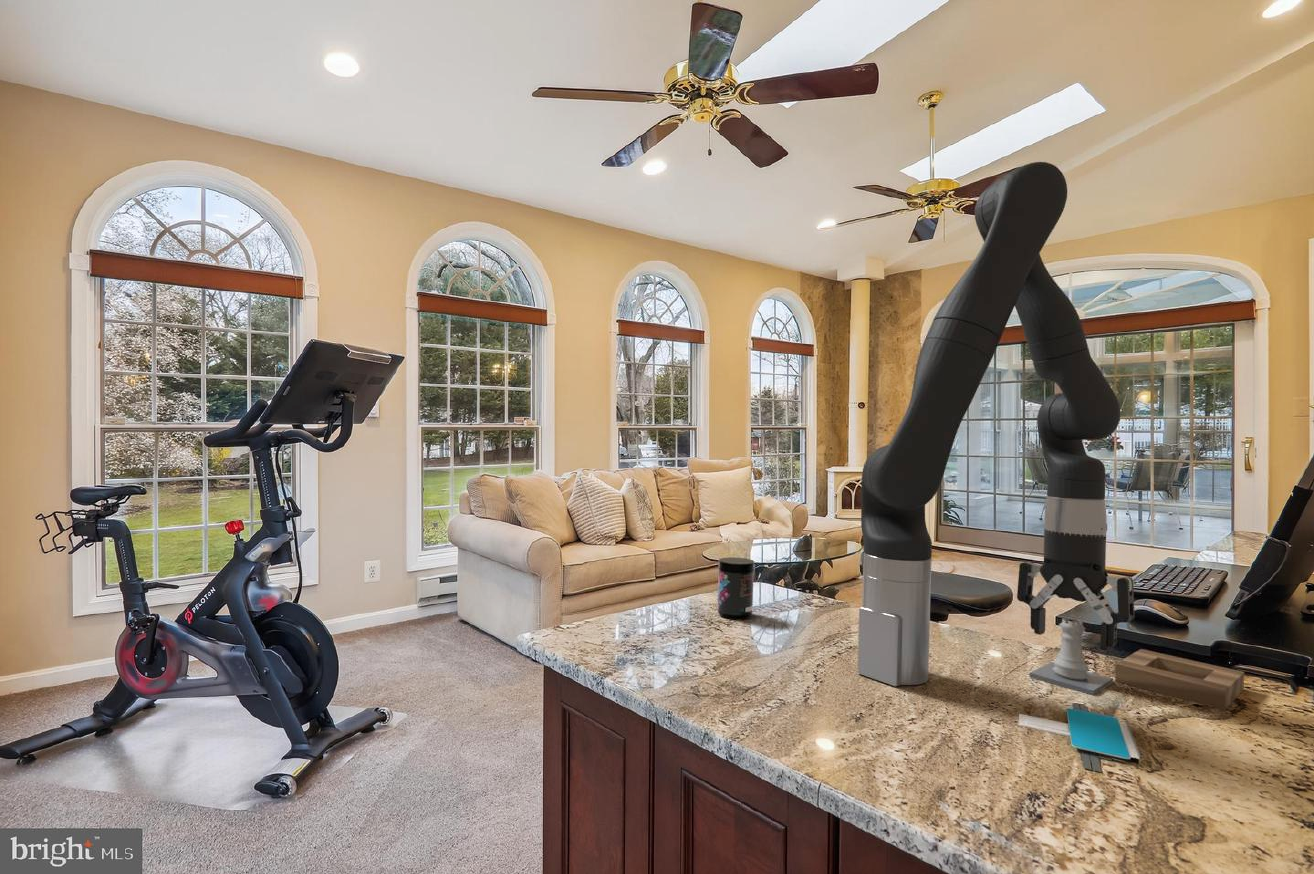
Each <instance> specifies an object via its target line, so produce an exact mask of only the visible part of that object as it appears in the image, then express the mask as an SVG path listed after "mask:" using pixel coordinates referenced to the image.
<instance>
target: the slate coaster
mask: <svg viewBox="0 0 1314 874" xmlns="http://www.w3.org/2000/svg"><path fill="white" fill-rule="evenodd" d="M1054 667H1055V665H1054V663H1053V662H1051V661H1050V662H1048V663H1046V664H1045V665H1042V666H1041V667H1039V668H1036V669H1034V670H1032V671H1030V672H1029V673H1028V674H1029V678H1032V679H1036V680H1038V681H1042V682H1046V683H1050V684H1053V685H1056V686H1060V687H1064V688H1067V689H1070V690H1075V691H1077V692H1081V693H1085V694H1088V695H1091V696H1094V695H1096V694H1097V693H1099V692H1101V691H1102V690H1104V689H1105V688H1106V687H1108V686H1110V685H1112V684H1113V683H1114V678H1112V677H1109V676H1106V675H1103V674H1102V675H1101V674H1098V673H1095V672H1094V673H1093V672H1089V671H1087V673H1088V674H1089V677H1088V678H1087V679H1086V680H1072V679H1067V678H1064V677H1061V676H1059V675H1057V674H1056V673H1055V672H1054V670H1053V668H1054Z"/></svg>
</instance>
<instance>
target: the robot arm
mask: <svg viewBox="0 0 1314 874" xmlns="http://www.w3.org/2000/svg"><path fill="white" fill-rule="evenodd" d="M1067 199H1068V185H1067V180H1066V178H1065V176H1064V173H1063V172H1062V171H1061V170H1060V169H1059V168H1058V167H1057V165H1054V164H1053V163H1050V162H1047V161H1046V162H1045V161H1035V162H1031V163H1027V164H1024V165H1021V166H1019V167H1018V168H1016V169H1013V170H1011V171H1010V172H1008V173H1007V174H1005V175H1003V176H1002V177H1001V178H1000V179H997V180H996V181H995V182H994V183H992V184H991V185H989V186H988V187H987V188H985V189H984V190H983V192H982V193H981V194H980V196H979V197H978V198H977V200H976V204H975V207H974V220H975V223H976V226H977V229H978V231H979V234H980V236H981V238H982V241H983V244H982V246H981V248H980V250H979V252H978V254H977V255H976V257H975V258H974V260H973V261H972V262H971V264H970V266H969V267H968V268H967V270H966V271H965V272H964V273H963V275H962V276H961V277H960V279H959V280H958V281H957V283H955V285H954V286H953V288H951V291H949V293H948V294H947V296H946V297H945V299H944V301H943V302H942V303H941V305H940V307H939V309H938V310H937V312H936V314H935V316H934V318H933V320H932V322H931V325H930V327H929V329H928V331H927V334H926V336H925V338H924V341H923V342H922V346H921V349H920V352H919V355H918V357H917V361H916V362H917V363H916V367H915V374H914V377H913V378H914V380H913V385H912V390H911V397H910V400H909V404H908V406H907V409H906V411H905V413H904V416H903V418H902V420H901V422H900V423H899V426H898V428H897V429H896V431H895V433H894V435H893V437H892V438H891V440H890V442H889V444H888V445H883V446H881V447H879V448H877V449H875V450H874V451H873V452H871V454H870V455H869V456H868V457H867V459H866V460H865V462H864V464H863V468H862V473H861V482H860V483H861V487H860V489H861V492H860V493H861V495H860V496H861V497H860V500H861V501H860V504H861V505H860V508H861V509H860V510H861V511H860V512H861V513H860V514H861V515H860V516H861V517H860V520H861V521H860V523H861V524H860V526H861V527H860V528H861V533H862V539H863V565H862V566H863V569H862V596H861V597H862V600H861V601H862V602H861V607H860V608H858V609H859V610H858V635H857V636H858V638H857V639H858V642H857V643H858V644H857V645H858V646H857V671H856V673H857V674H858V675H863V677H867V678H870V679H873V680H876V681H879V682H882V683H885V684H888V685H890V686H893V687H898V686H915V685H916V686H917V685H922V684H925V683H926V682H928V681H929V673H930V672H929V669H930V668H929V667H930V666H929V665H930V662H929V661H930V631H931V630H930V629H931V628H930V625H931V624H930V620H931V593H932V592H931V589H932V588H931V587H932V586H931V585H932V580H931V579H932V555H933V548H932V546H933V542H932V538H931V536H930V534H929V532H928V528H927V523H926V505H927V504H928V503H929V502H930V501H931V500H932V499H933V498H934V497H935V495H936V494H937V492H938V491H939V489H940V486H941V483H942V480H943V479H944V474H945V471H946V467H947V464H948V461H949V458H950V455H951V452H952V448H953V446H954V442H955V439H956V438H957V437H956V436H957V434H958V432H959V429H960V426H961V424H962V422H963V419H964V417H965V415H966V413H967V411H968V410H969V407H970V405H971V403H972V402H973V399H974V397H975V395H976V394H977V391H978V388H979V386H980V384H981V381H982V380H983V377H984V376H985V374H986V371H987V370H988V368H989V365H990V363H991V362H992V359H993V358H994V354H995V353H996V351H997V349H998V346H999V344H1000V341H1001V339H1002V337H1003V334H1004V331H1005V330H1006V326H1007V324H1008V322H1009V319H1010V317H1011V315H1012V313H1013V310H1014V309H1015V310H1016V313H1017V315H1018V318H1019V320H1020V321H1019V322H1020V325H1021V326H1022V327H1021V328H1022V331H1023V334H1024V338H1025V341H1026V344H1027V348H1028V351H1029V354H1030V358H1031V362H1032V365H1033V368H1034V370H1035V373H1036V375H1037V376H1038V377H1039V378H1040V379H1041V380H1045V381H1047V382H1048V381H1050V382H1052V383H1055V384H1056V385H1057V386H1058V387H1059V389H1060V391H1061V392H1058V393H1055V394H1051V395H1050V396H1048V397H1047V398H1046V399H1045V400H1044V401H1043V402H1042V403H1041V406H1040V408H1039V409H1038V412H1037V418H1036V426H1037V427H1036V428H1037V432H1038V437H1039V440H1040V445H1041V448H1042V453H1043V456H1044V459H1045V463H1046V466H1047V478H1046V479H1047V485H1046V486H1047V487H1046V490H1047V491H1046V503H1045V507H1044V524H1043V526H1044V527H1043V528H1044V529H1043V532H1044V533H1043V562H1042V564H1037V563H1034V562H1033V561H1029V560H1028V561H1024V562H1021V563H1020V564H1019V568H1018V578H1017V579H1018V580H1017V593H1016V599H1017V601H1019V602H1021V603H1022V602H1023V603H1025V604H1026V605H1028V606H1029V608H1030V622H1029V623H1030V624H1029V625H1030V628H1031V629H1032V630H1034V631H1033V632H1034V634H1035V635H1039V636H1040V635H1043V634H1045V633H1046V613H1047V611H1046V610H1047V609H1046V607H1044V606H1045V605H1046V604H1047V603H1048V602H1049V601H1050V600H1051V599H1052V598H1054V597H1055V596H1057V597H1058V598H1060V599H1072V600H1074V601H1076V602H1081V603H1083V602H1088V604H1089V606H1090V607H1091V608H1092V609H1093V610H1095V611H1096V612H1097V614H1098V616H1099V617H1100V619H1101V620H1102V621H1103V622H1101V623H1100V645H1099V646H1100V650H1102V651H1107V652H1108V651H1110V650H1111V649H1112V648H1114V647H1115V646H1116V644H1117V642H1118V641H1117V639H1118V624H1120V623H1123V624H1124V623H1128V622H1131V621H1133V620H1134V619H1135V598H1134V597H1135V596H1134V593H1135V591H1134V580H1133V578H1132V577H1131V576H1127V575H1126V576H1115V575H1114V576H1113V575H1109V574H1108V572H1107V570H1106V563H1107V562H1106V560H1107V559H1106V557H1107V555H1106V554H1107V551H1106V549H1107V531H1108V523H1107V518H1108V517H1107V516H1108V515H1107V508H1106V500H1105V499H1106V467H1105V464H1104V463H1103V461H1101V460H1100V459H1098V458H1095V457H1092V456H1089V455H1088V454H1087V452H1086V449H1085V446H1084V443H1083V440H1085V441H1096V440H1097V441H1098V440H1103V439H1106V438H1108V437H1110V436H1111V435H1113V433H1115V431H1116V430H1117V428H1118V426H1119V424H1120V420H1121V407H1120V403H1119V400H1118V397H1117V395H1116V393H1115V392H1114V389H1113V388H1112V386H1111V385H1110V383H1109V382H1108V380H1107V378H1106V377H1105V375H1104V374H1103V372H1102V370H1101V369H1100V368H1099V366H1098V364H1096V362H1095V361H1094V360H1093V358H1092V356H1091V353H1090V349H1089V344H1088V342H1087V339H1086V334H1085V331H1084V328H1083V325H1082V321H1081V318H1080V316H1079V314H1078V311H1077V309H1076V308H1075V306H1074V305H1073V303H1072V301H1071V300H1070V298H1069V297H1068V296H1067V295H1066V293H1065V291H1063V290H1062V288H1061V287H1060V286H1059V285H1058V283H1057V282H1056V281H1055V279H1054V278H1053V276H1052V275H1051V274H1050V273H1049V271H1048V269H1047V268H1046V266H1045V264H1044V261H1043V260H1042V256H1041V251H1042V249H1043V247H1044V246H1045V244H1046V242H1047V240H1048V239H1049V237H1050V235H1051V234H1052V233H1053V231H1054V229H1055V227H1056V226H1057V223H1058V222H1059V220H1060V218H1061V217H1062V214H1063V212H1064V209H1065V208H1066V203H1067ZM1039 574H1040V576H1041V577H1042V578H1043V579H1044V581H1045V583H1046V584H1045V585H1044V586H1043V587H1042V588H1041V589H1040V590H1039V591H1038V592H1037V594H1036V595H1034V594H1033V589H1034V588H1033V587H1034V578H1036V577H1037V576H1038V575H1039ZM1108 585H1110V586H1111V588H1112V590H1113V592H1114V593H1117V611H1115V609H1114V608H1113V606H1112V605H1111V604H1110V600H1109V599H1108V597H1106V595H1105V594H1104V592H1103V589H1104V588H1105V587H1106V586H1108Z"/></svg>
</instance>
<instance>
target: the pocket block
mask: <svg viewBox="0 0 1314 874" xmlns="http://www.w3.org/2000/svg"><path fill="white" fill-rule="evenodd" d="M1114 669H1115V670H1114V672H1115V677H1114V678H1115V679H1114V681H1115V682H1117V683H1121V684H1125V685H1129V686H1133V687H1136V688H1139V689H1144V690H1147V691H1151V692H1155V693H1159V694H1162V695H1166V696H1171V697H1174V698H1177V699H1182V700H1185V701H1189V702H1193V703H1196V704H1200V705H1204V706H1208V707H1212V708H1215V709H1219V710H1222V711H1226V709H1227V708H1228V707H1229V706H1230V705H1232V703H1233V702H1234V701H1235V700H1236V699H1237V698H1238V697H1239V696H1240V694H1242V693H1243V691H1245V672H1244V671H1241V670H1236V669H1232V668H1228V667H1223V666H1220V665H1219V666H1218V665H1215V664H1209V663H1205V662H1200V661H1197V660H1196V661H1195V660H1192V659H1189V658H1182V657H1178V656H1174V655H1170V654H1166V653H1160V652H1157V651H1152V650H1148V649H1143V648H1140V649H1138V650H1137V651H1134V652H1133V653H1131V654H1130V655H1128V656H1126V657H1125V658H1123V659H1122V660H1120V661H1118V662H1116V663H1115V668H1114Z"/></svg>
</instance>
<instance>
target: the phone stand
mask: <svg viewBox="0 0 1314 874" xmlns="http://www.w3.org/2000/svg"><path fill="white" fill-rule="evenodd" d="M1018 715H1019V716H1018V726H1020V727H1024V728H1029V729H1033V730H1038V731H1043V732H1045V733H1052V734H1056V735H1060V736H1065V737H1069V738H1070V742H1071V747H1074V749H1075V748H1076V749H1079V754H1080V760H1081V762H1082V768H1083V769H1086V770H1092V771H1095V772H1099V773H1102V768H1101V767H1102V766H1101V761H1100V759H1102V760H1107V761H1110V762H1111V761H1112V760H1115V761H1119V762H1124V763H1128V764H1129V763H1130V762H1129V761H1126V760H1131V758H1133V759H1137V762H1138V765H1141V761H1143V760H1145V758H1142V755H1140V754H1141V753H1143V751H1142V752H1140V750H1142V749H1140V748H1139V749H1138V747H1140V745H1138V746H1137V743H1136V741H1135V740H1136V739H1135V738H1134V735H1135V736H1136V734H1135V733H1133V732H1135V731H1134V730H1133V731H1132V728H1131V727H1132V725H1130V724H1132V723H1129V721H1128V719H1127V718H1125V722H1124V721H1119V719H1118V718H1117V717H1114V716H1112V715H1111V716H1110V715H1106V714H1102V713H1101V714H1100V713H1096V712H1089V710H1088V706H1087V705H1086V704H1080V703H1074V702H1072V708H1069V707H1067V708H1066V715H1067V721H1068V723H1065V722H1062V721H1056V720H1053V719H1046V718H1042V717H1036V716H1032V715H1026V714H1021V713H1019V714H1018ZM1140 757H1141V758H1142V759H1141V758H1140ZM1123 759H1124V760H1123Z"/></svg>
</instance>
